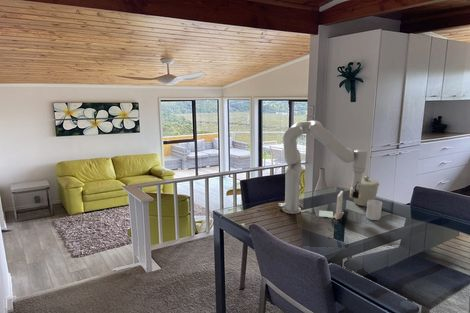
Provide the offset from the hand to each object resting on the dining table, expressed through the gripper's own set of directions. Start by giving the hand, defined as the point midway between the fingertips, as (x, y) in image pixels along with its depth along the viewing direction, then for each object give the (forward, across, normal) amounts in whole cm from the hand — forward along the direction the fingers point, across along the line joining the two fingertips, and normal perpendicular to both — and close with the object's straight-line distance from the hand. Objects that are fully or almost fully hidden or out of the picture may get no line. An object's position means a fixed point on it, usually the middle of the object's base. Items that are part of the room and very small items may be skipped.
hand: (354, 195), depth 216 cm
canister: (+15, -25, +10) cm, 30 cm away
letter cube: (+1, 0, 0) cm, 1 cm away
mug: (+15, -3, +13) cm, 20 cm away
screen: (+15, +1, -9) cm, 18 cm away
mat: (+16, +1, -17) cm, 23 cm away
